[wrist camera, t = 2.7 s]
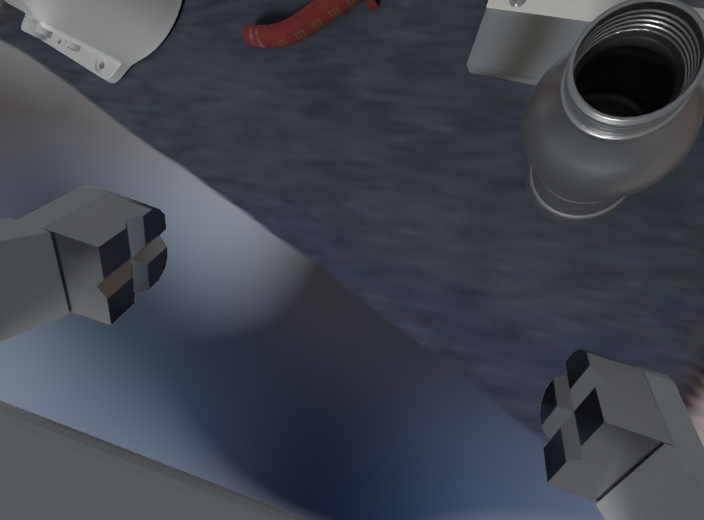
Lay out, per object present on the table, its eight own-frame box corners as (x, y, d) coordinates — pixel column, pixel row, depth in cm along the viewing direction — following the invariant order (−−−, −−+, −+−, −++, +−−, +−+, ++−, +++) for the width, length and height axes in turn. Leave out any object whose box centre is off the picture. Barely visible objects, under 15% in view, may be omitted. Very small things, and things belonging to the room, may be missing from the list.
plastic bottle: (650, 160, 30) (846, -19, 11) (590, 246, 31) (676, 214, 12) (560, 119, 32) (599, -88, 13) (507, 202, 33) (475, 117, 15)
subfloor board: (469, 72, 34) (466, 63, 33) (516, -60, 33) (515, -76, 32) (784, 133, 27) (799, 125, 25) (858, -33, 26) (879, -52, 24)
